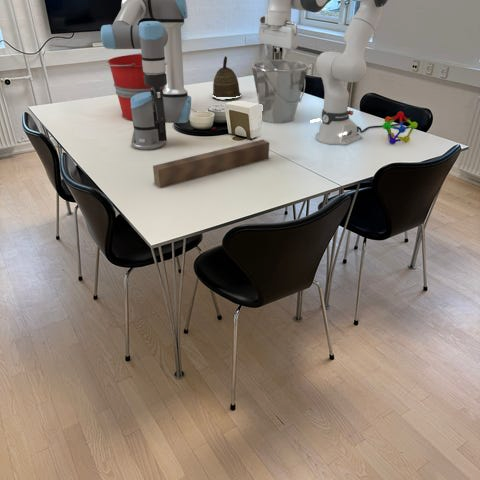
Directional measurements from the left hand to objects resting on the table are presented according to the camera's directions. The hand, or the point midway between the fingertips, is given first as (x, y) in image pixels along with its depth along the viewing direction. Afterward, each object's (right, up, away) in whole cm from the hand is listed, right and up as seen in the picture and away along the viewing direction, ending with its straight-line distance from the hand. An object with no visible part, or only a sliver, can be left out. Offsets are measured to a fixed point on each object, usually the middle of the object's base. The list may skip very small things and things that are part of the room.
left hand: (160, 134), depth 160 cm
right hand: (+43, +34, +16) cm, 57 cm away
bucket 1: (-25, +32, +89) cm, 98 cm away
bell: (+20, +53, +122) cm, 134 cm away
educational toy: (+103, +8, +51) cm, 115 cm away
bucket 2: (+49, +29, +84) cm, 102 cm away
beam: (+19, -9, +22) cm, 30 cm away
